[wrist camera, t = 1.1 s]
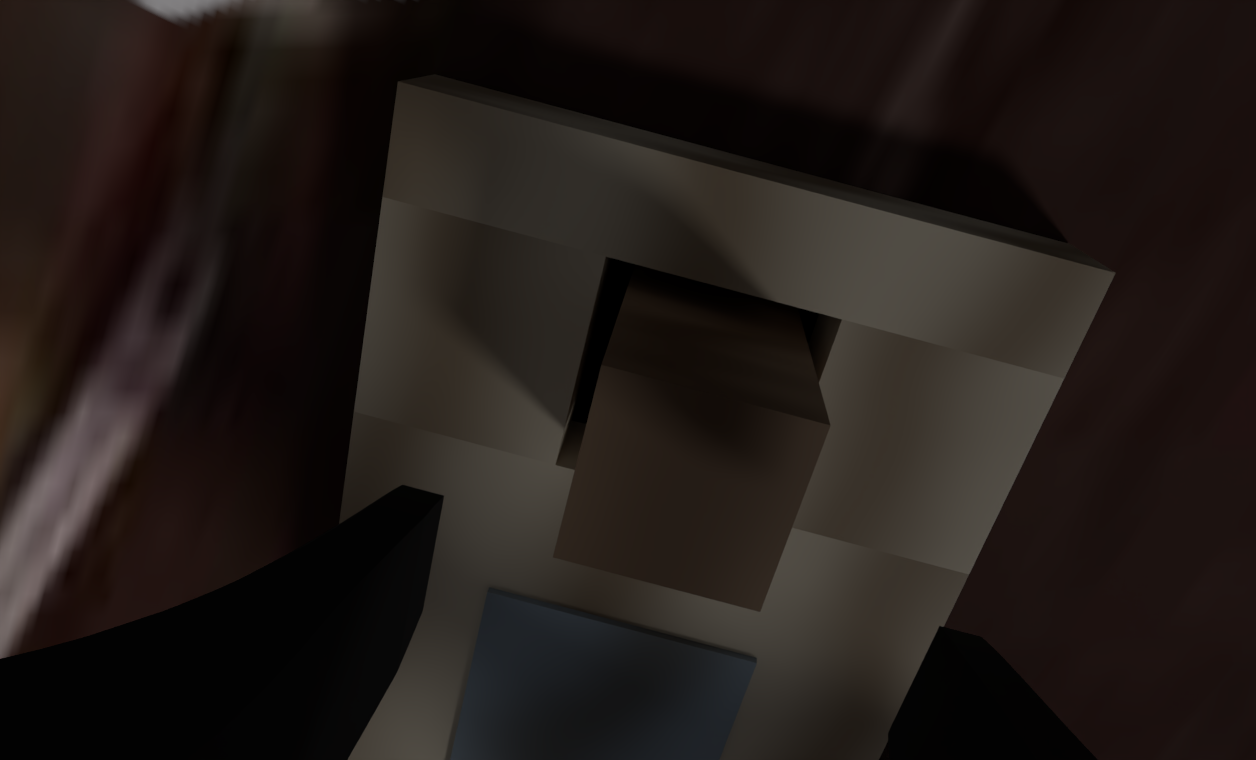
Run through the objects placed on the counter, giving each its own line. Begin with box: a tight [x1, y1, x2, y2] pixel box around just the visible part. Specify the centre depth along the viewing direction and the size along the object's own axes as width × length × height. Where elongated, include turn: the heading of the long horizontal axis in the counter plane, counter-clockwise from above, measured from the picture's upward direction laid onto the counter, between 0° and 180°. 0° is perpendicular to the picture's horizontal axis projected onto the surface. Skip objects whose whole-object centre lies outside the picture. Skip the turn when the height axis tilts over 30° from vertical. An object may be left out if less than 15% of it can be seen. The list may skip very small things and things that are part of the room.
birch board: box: [339, 74, 1115, 760], centre depth 23 cm, size 15×20×3 cm
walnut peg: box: [553, 264, 831, 612], centre depth 19 cm, size 4×4×7 cm
